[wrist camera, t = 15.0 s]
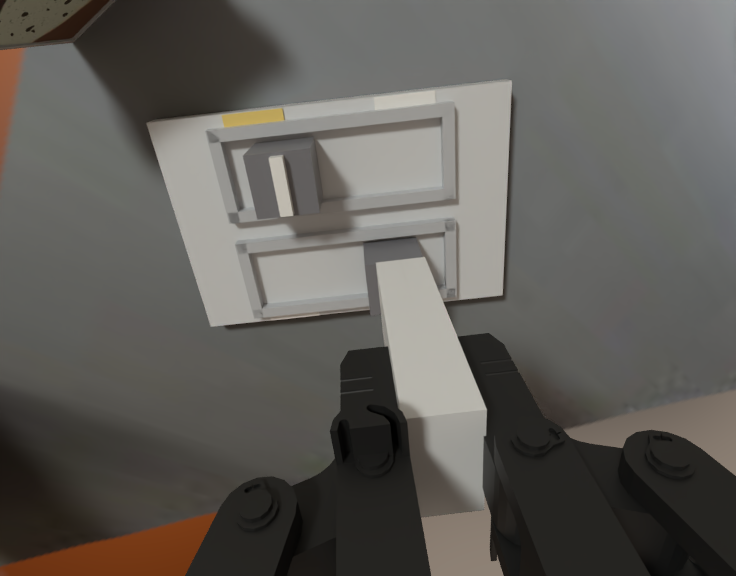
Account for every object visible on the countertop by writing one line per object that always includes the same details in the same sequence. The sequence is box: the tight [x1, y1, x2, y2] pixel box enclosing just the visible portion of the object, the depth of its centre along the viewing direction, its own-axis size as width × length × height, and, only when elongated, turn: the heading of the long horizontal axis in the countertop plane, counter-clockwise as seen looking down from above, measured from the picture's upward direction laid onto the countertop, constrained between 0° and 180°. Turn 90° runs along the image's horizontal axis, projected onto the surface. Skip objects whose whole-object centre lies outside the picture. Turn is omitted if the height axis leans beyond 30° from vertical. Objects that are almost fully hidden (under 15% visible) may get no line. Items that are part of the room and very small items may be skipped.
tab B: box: [243, 136, 323, 220], centre depth 29 cm, size 4×4×5 cm
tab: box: [363, 237, 423, 316], centre depth 33 cm, size 4×4×5 cm
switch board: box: [146, 79, 512, 327], centre depth 34 cm, size 24×16×2 cm, turn 96°
